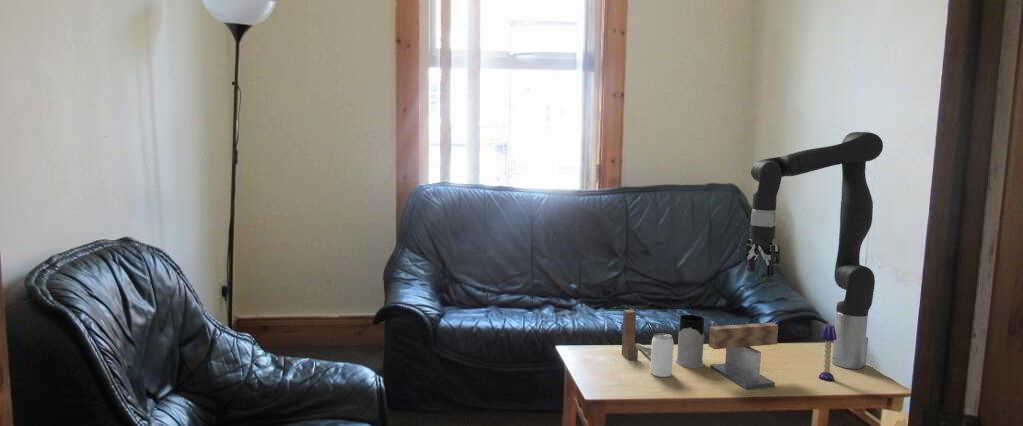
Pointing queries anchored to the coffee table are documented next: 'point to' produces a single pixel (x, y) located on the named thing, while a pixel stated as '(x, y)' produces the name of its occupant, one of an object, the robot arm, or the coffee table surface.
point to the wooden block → (629, 335)
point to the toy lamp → (827, 350)
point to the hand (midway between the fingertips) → (760, 274)
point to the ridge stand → (743, 368)
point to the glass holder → (690, 341)
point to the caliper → (644, 348)
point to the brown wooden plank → (743, 335)
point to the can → (662, 355)
